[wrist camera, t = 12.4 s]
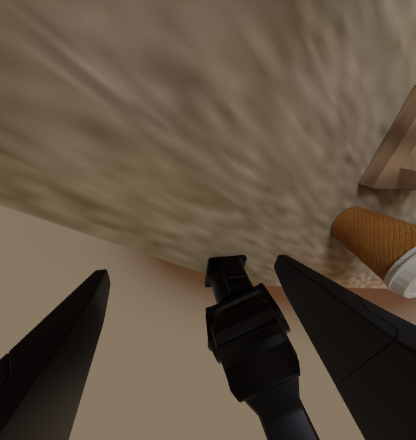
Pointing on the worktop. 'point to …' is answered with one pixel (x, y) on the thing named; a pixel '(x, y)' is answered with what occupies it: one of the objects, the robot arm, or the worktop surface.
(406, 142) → the walnut board
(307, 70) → the worktop surface
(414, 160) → the maple cube
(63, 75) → the worktop surface
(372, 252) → the disposable coffee cup
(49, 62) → the worktop surface
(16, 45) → the worktop surface
